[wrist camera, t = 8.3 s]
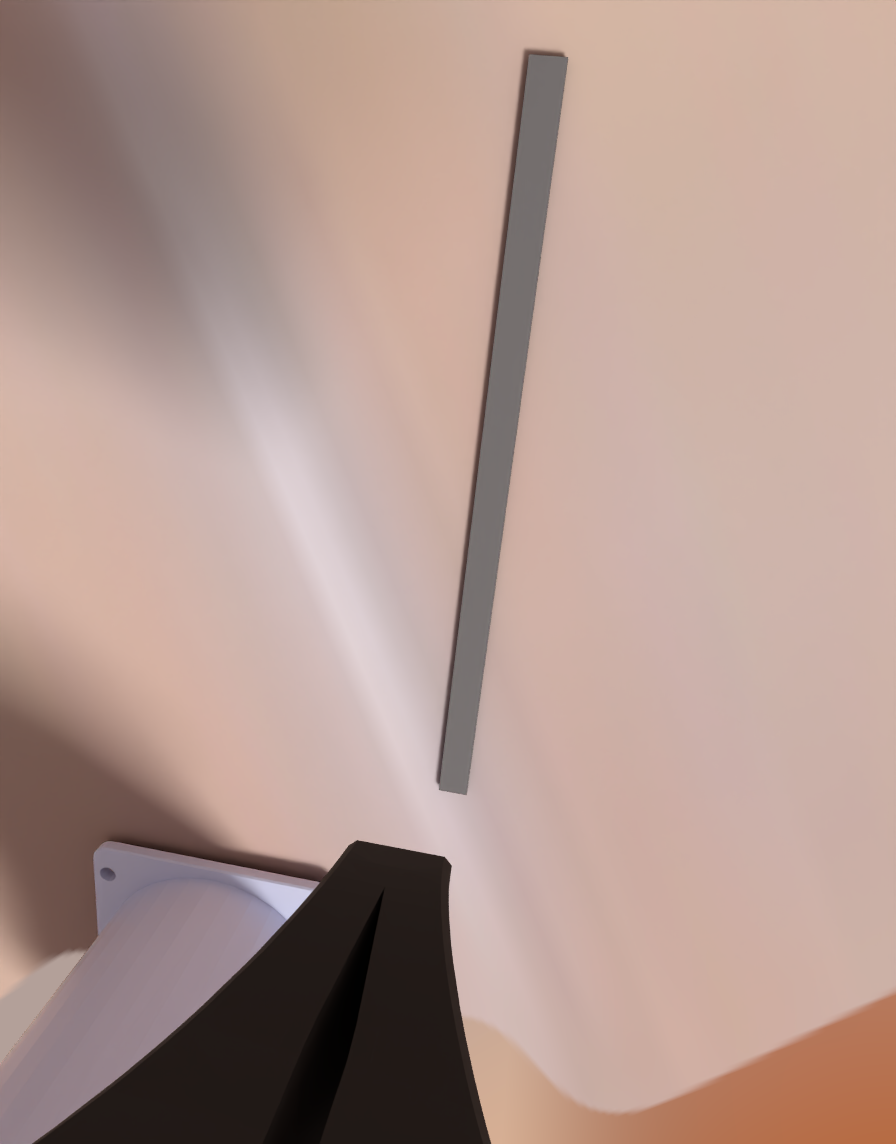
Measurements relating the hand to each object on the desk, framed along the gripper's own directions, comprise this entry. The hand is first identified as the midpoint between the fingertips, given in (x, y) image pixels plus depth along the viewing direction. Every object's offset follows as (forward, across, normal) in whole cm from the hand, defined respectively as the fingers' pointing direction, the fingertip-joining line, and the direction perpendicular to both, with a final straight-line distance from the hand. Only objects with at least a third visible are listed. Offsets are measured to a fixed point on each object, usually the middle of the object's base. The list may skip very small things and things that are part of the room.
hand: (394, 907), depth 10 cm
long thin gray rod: (+10, 0, -4) cm, 11 cm away
